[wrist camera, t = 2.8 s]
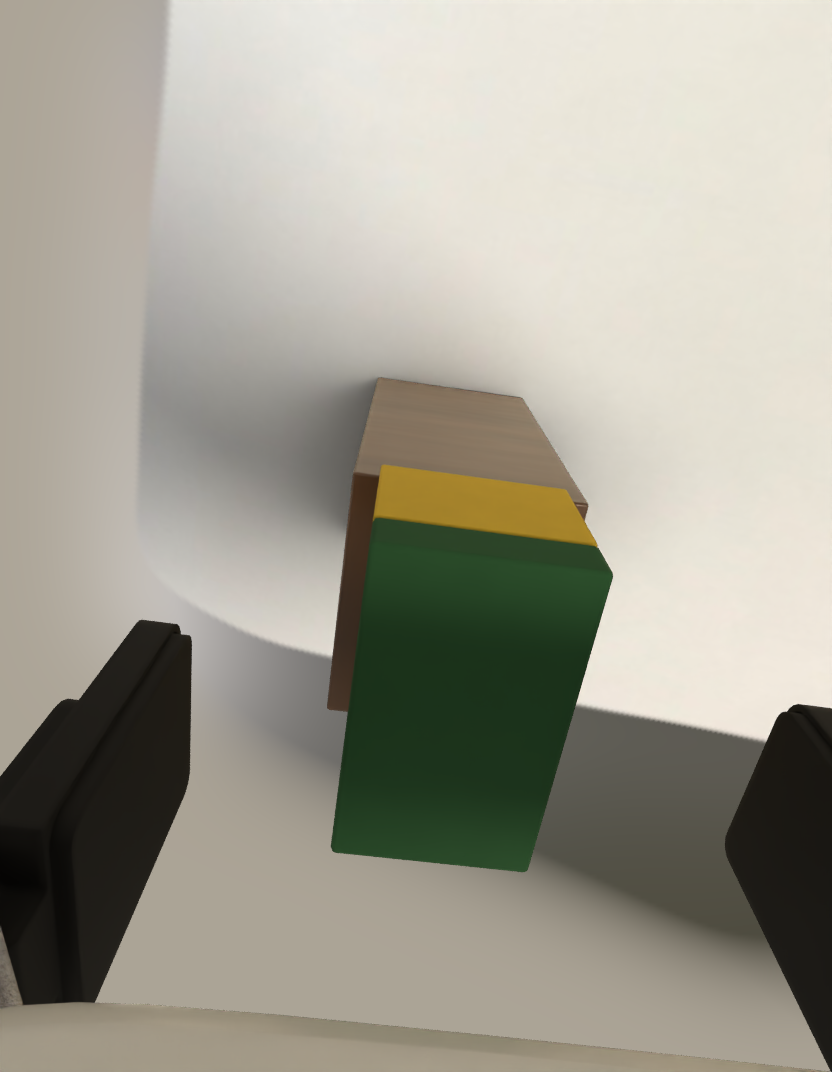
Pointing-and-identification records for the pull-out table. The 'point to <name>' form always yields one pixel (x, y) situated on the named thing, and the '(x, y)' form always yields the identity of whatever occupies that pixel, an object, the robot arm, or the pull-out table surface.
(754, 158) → the pull-out table surface
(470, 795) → the sponge
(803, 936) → the robot arm
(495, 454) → the wooden block
